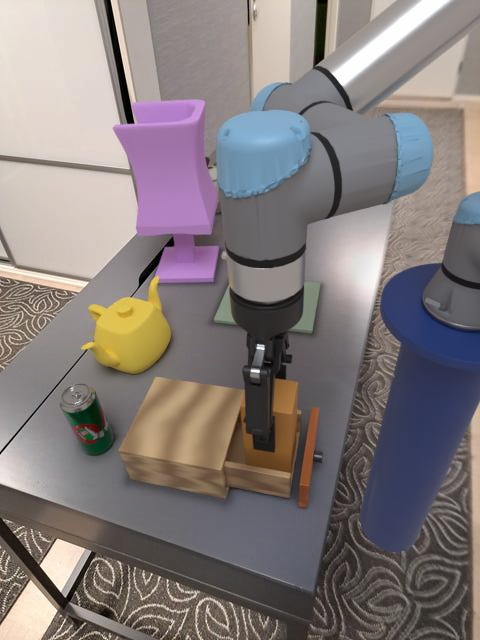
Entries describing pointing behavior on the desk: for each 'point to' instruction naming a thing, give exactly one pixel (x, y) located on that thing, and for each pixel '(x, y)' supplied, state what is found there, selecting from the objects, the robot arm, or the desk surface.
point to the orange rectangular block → (276, 430)
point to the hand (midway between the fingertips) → (270, 421)
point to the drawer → (267, 478)
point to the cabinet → (183, 436)
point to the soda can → (86, 418)
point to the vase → (173, 184)
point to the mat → (302, 326)
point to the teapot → (130, 332)
